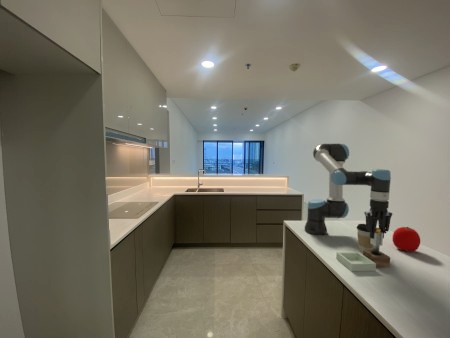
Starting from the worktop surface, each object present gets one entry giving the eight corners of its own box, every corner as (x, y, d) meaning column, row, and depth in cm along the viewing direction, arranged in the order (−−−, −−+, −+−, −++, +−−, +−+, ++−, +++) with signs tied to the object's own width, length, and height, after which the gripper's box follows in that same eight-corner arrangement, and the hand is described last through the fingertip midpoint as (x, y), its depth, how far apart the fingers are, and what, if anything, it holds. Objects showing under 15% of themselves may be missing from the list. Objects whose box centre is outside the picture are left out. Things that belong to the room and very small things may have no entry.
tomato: (395, 251, 116) (396, 227, 115) (389, 243, 126) (390, 222, 125) (424, 256, 110) (425, 231, 109) (415, 248, 121) (416, 225, 120)
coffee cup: (379, 256, 110) (381, 229, 109) (360, 254, 112) (361, 228, 111) (370, 248, 119) (371, 224, 118) (352, 246, 121) (353, 222, 120)
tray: (336, 258, 107) (336, 252, 107) (357, 258, 108) (357, 251, 107) (351, 271, 95) (352, 264, 95) (375, 270, 96) (375, 263, 95)
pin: (370, 255, 104) (372, 227, 103) (375, 255, 105) (377, 227, 103) (375, 257, 102) (376, 229, 101) (380, 257, 102) (382, 229, 101)
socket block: (362, 259, 107) (362, 250, 106) (376, 258, 107) (377, 249, 107) (374, 267, 99) (375, 257, 98) (389, 266, 99) (390, 257, 99)
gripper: (370, 201, 97) (367, 248, 98) (400, 201, 98) (397, 247, 99) (358, 198, 104) (356, 241, 106) (387, 198, 105) (384, 240, 107)
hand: (376, 244), depth 103 cm, fingers closed on pin, 3 cm apart
